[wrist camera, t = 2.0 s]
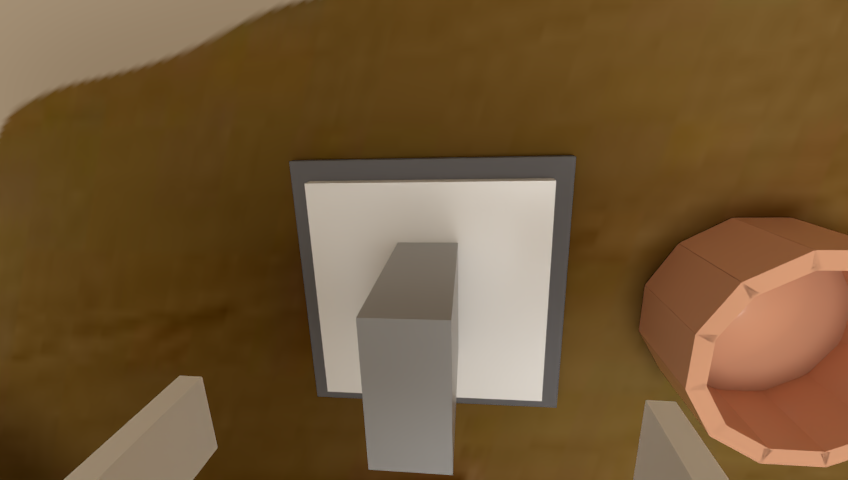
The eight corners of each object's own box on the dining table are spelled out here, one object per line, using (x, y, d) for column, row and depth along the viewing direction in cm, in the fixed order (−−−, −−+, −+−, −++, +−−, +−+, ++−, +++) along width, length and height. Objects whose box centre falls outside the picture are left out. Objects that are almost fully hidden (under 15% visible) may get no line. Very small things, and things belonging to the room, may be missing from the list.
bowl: (630, 387, 23) (672, 458, 18) (654, 217, 20) (710, 249, 15) (822, 395, 22) (919, 472, 17) (875, 217, 19) (1009, 251, 14)
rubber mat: (321, 390, 25) (317, 396, 25) (293, 160, 21) (288, 161, 21) (554, 400, 24) (556, 407, 23) (573, 155, 20) (576, 156, 19)
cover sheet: (332, 383, 24) (260, 523, 16) (310, 181, 21) (204, 225, 13) (539, 391, 23) (579, 549, 15) (552, 178, 20) (615, 225, 11)
